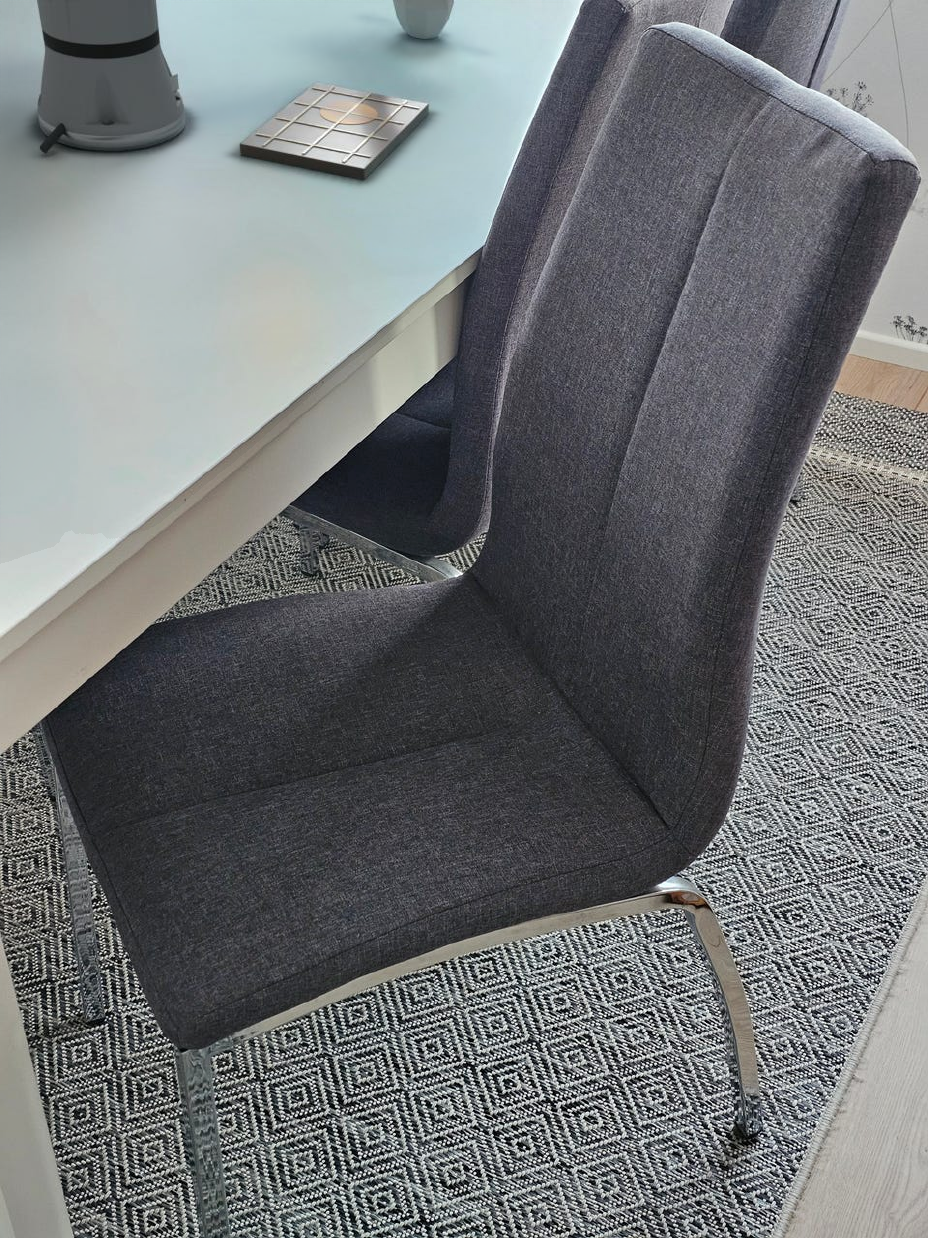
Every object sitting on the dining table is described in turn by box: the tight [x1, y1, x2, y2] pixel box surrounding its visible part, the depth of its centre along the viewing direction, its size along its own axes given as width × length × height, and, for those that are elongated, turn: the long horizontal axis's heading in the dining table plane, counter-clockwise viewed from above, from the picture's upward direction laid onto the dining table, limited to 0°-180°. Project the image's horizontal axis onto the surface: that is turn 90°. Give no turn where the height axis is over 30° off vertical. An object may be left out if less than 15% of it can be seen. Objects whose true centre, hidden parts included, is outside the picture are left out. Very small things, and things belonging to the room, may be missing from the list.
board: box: [239, 82, 430, 181], centre depth 131 cm, size 20×14×1 cm
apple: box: [392, 0, 455, 40], centre depth 155 cm, size 8×8×7 cm
